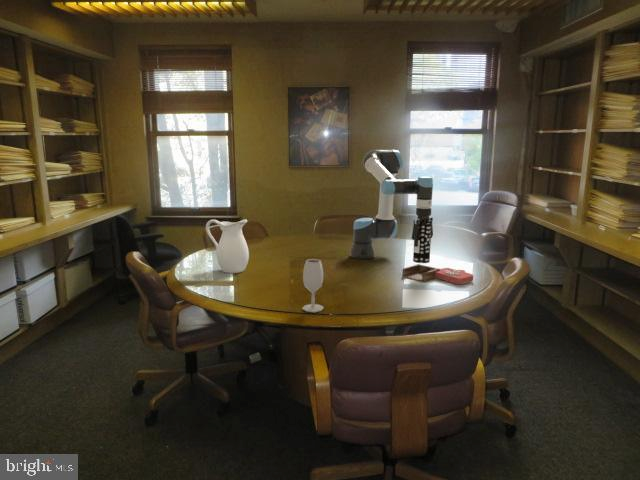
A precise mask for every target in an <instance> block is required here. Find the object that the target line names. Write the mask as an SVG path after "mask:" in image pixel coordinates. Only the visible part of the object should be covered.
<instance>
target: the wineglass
mask: <svg viewBox="0 0 640 480" xmlns="http://www.w3.org/2000/svg"><path fill="white" fill-rule="evenodd" d="M302 281H303V282H302V283H303V285H304V287H305V288H306V289H307V290H308V292H310V293H311V297H310V298H311V303H310V304H306V305H304V306H303V307H302V311H305V312H306V313H320V312H322V311H323V309H325V307H324V306H323V305H321V304H318V303H317V304H316V297H315V296H316V295H315V294H316V292H317V291H318V290H319V289H320V288H321V287H322V285H323V282H324V268H323V263H322V260H321V259H317V258H316V259H315V258H309V259H307V260H305V263H304V265H303V271H302Z"/></svg>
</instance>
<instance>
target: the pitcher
mask: <svg viewBox="0 0 640 480" xmlns="http://www.w3.org/2000/svg"><path fill="white" fill-rule="evenodd" d="M247 223H248V219H246V218H244V219H241V220H240V221H237V222H231V221H219V220H217V219H210V220H208V221H207V222H206V224H205V231H206V233H207V234H206V235H207V236H208V237H209V238H210V240H211V241H212V242H213V244H214V246H215V248H216V249H215V251H214V253H215V254H216V260H217V264H218V266H219V268H220V269H221V271H222V272H223V273H226V274H238V273H242V272H244V271H245V269H246V268H247V266H248V263H249V260H250V252H249V251H250V250H249V247H248V244H247V241H246V238H245V236H244V234H243V226H245V225H246V224H247ZM211 224H215V225H217V226H218V227H219V228H220V231H222V233H221V236H220V239H219V242H217V241H216V239H215V238H214V236H213V235H212V233H211V230H210V225H211Z"/></svg>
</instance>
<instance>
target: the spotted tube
mask: <svg viewBox="0 0 640 480" xmlns="http://www.w3.org/2000/svg"><path fill="white" fill-rule="evenodd" d="M431 225H432V226H433V222H432V223H425V224H419V228H418V230H420V237H419V240H420V248H419V253H415V252H414V251H413V252H412V253H413V254H412V255H413V256H412V258H413V259H412V262H413V263H416V264H429V263H430V261H431V260H430V257H431V242H432V238H431Z"/></svg>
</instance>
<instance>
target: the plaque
mask: <svg viewBox="0 0 640 480" xmlns="http://www.w3.org/2000/svg"><path fill="white" fill-rule="evenodd" d="M439 269H440V270H439V271H436V272H435V279H440V280H444V281H446V282H449V283H453V284H456V285H463V284H466V283H470V282H473V281H474V274H472V273H469V272H466V270H464V269H455V268H454V269H453V268H450V267H444V268H439Z"/></svg>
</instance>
